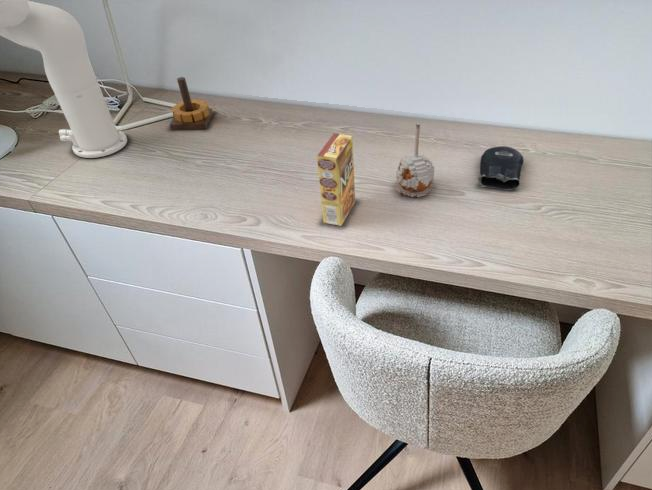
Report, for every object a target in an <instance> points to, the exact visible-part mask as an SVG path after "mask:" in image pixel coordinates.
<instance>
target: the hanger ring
mask: <svg viewBox="0 0 652 490" xmlns="http://www.w3.org/2000/svg"><path fill="white" fill-rule="evenodd" d="M191 102H192V106H193V109H194V110H195V111H192V112H186V110H185V106H184V103H183V101H180V102H178V103H176V104H175V105H173V106H172V108H171V111H172V115H173V118H174V119H175V120H177V121H179V122H183V121H184V123H185V122H193V120H194V121H195V122H196V121H199V120H202V119H203V118H206V117H207V116H208V115H209V113H210V111H209V108H210V107H209V104H208V102H207V101H205V100H202V99H191Z"/></svg>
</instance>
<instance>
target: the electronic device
mask: <svg viewBox="0 0 652 490" xmlns="http://www.w3.org/2000/svg"><path fill="white" fill-rule="evenodd" d="M523 164H524V156H523V154H522V153H521V152H520V151H519V150H517V149H515V148H514V147H510V146H507V145H502V146H501V145H500V146H493V147H489V148H488V149H485V151H484V152H483V153H482V155H481V157H480V163H479V176H478V177H477V181H478V183H479V187H480V188H490V189H491V188H492V189H499V190H503V191H504V190H505V191H511V190H514V189H516V188H518V187H520V179H521V178H520V177H521V170H522V166H523Z"/></svg>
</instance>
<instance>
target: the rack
mask: <svg viewBox="0 0 652 490" xmlns="http://www.w3.org/2000/svg"><path fill="white" fill-rule="evenodd" d="M176 80H177V84H178V88H179V92H180V95H181V99H182V102H183V103H184V106H185V110H186V112H192V111H195V110H194V109H193V106H192V102H191V100H192V98H191V95H190V91H189V87H188V84H187V80H186V78H185V77H184V76H180V77H178V78H176ZM209 111H210V113H209V115H208V116H207V117H206V118H203V119H202V120H199V121H196V122H195V121H194V120H193V122H185V123H184V121H183V122H179V121H177V120H175V119H174V117H173V119H172V120H171V121H170V123H169V126H170V130H171V131H182V130H183V131H187V130H188V131H189V130H207V128H208V125H209V124H210V121H211V119H212V117H213V115H214V112H213V108H210V107H209Z"/></svg>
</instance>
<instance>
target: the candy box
mask: <svg viewBox="0 0 652 490" xmlns="http://www.w3.org/2000/svg"><path fill="white" fill-rule="evenodd" d="M353 137H354V136H353V135H348V134H343V133H333V134H332V135H331V136H330V138H329V139H328V140H327V142H326V143H325V145H323V147H322V149H321V150H320V151H319V152H318V154H316V161H317V173H318V181H319V191H320V201H321V211H322V220H323V223H324V224H329V225H334V226H339V227H341V226H343V224H344V222H345V221H346V219H347V217H348V215H349V214H350V212H351V210H352V209H353V207H354V205H355V204H356V187H355V186H356V185H355V167H354V165H355V164H354V140H353Z"/></svg>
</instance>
